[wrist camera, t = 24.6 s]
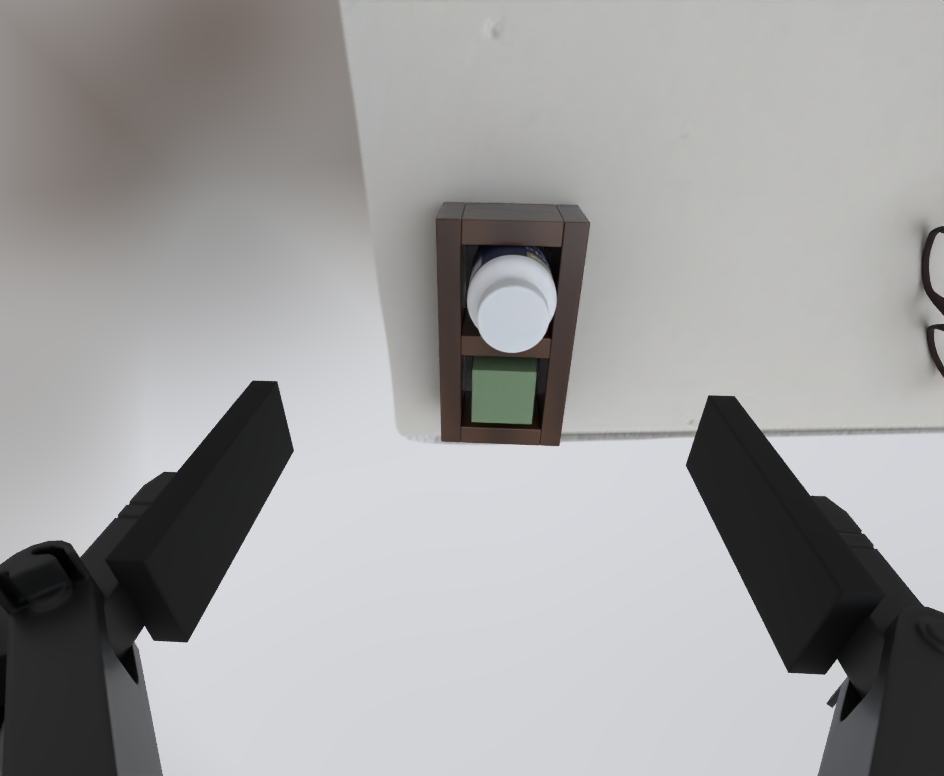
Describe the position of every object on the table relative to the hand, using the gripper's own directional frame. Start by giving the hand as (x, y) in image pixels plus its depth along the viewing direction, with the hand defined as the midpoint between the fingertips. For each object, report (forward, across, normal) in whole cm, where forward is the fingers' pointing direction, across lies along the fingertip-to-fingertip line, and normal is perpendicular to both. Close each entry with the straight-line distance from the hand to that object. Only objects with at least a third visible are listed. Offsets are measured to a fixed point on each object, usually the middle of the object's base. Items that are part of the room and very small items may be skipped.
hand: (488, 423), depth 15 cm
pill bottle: (+22, +1, -2) cm, 22 cm away
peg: (+22, +1, -10) cm, 24 cm away
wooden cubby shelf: (+22, +1, -6) cm, 23 cm away
